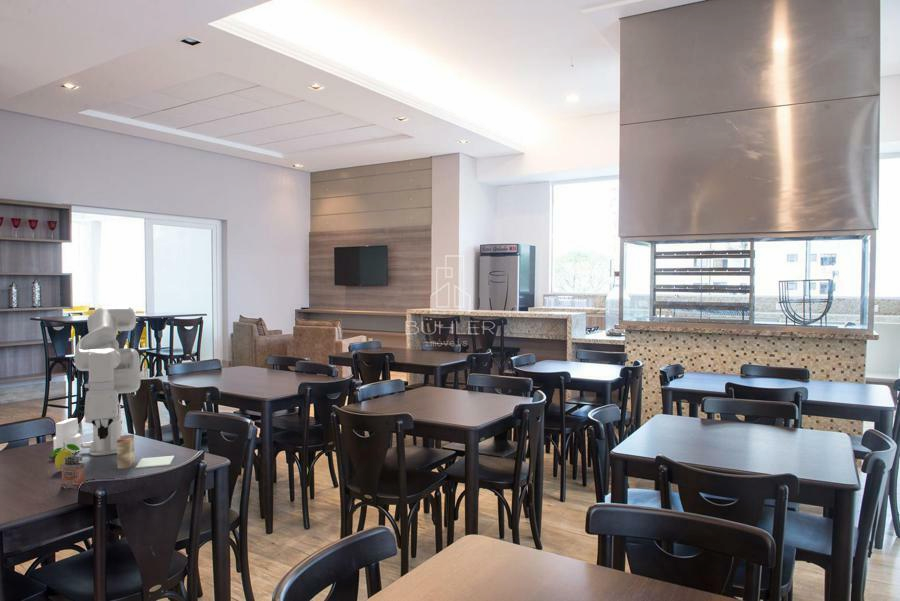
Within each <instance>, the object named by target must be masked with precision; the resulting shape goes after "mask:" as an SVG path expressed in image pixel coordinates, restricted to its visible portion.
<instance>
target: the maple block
mask: <svg viewBox="0 0 900 601" xmlns="http://www.w3.org/2000/svg"><path fill="white" fill-rule="evenodd" d="M116 458H117V459H116V461H117V462H116V463H117V469H118V468H121V469H129V468H131V467H132V466H133V465H134V464H135V461H136V460H135V435H134V434H125V435H123V434H122V435H121V437H120V438H119V439H118V440H117V453H116ZM133 463H134V464H133Z"/></svg>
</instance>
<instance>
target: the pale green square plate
mask: <svg viewBox="0 0 900 601" xmlns="http://www.w3.org/2000/svg"><path fill="white" fill-rule="evenodd" d="M174 458H175V455H169V456H168V455H166V456H156V457H155V456H154V457H153V456H152V457H143V458H142V457H141V459H140V460H139V461H138V463H137V465H136V466H135V469H146V468H148V469H149V468H157V467H167V466H168V467H169V466H171V465H172V462H173V461H174Z"/></svg>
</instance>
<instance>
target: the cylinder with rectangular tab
mask: <svg viewBox="0 0 900 601" xmlns="http://www.w3.org/2000/svg"><path fill="white" fill-rule="evenodd" d="M78 422H79V420H78V417H73V418H68V419H65V420H62V421H60V422H57V423H55V436H53V439H52V440H53V441H52V442H53V451H54V450H55V449H57V448H62V447H63V448H62V449H64V446H65V449H67V450H70V449H68V448H67V446H66V445H68V444H74V445H76V446H78V448H79V449H80V450H77V451H75V450H70V451H71V452H72V453H73V454H76V453H75V452H77V453H79V452H81V451H82V448H81V443H82V434H81V433H79V424H78ZM63 442H64V444H65V445H64V444H63ZM62 449H61V450H62ZM61 450H60V451H61ZM78 451H79V452H78Z"/></svg>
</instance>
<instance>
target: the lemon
mask: <svg viewBox="0 0 900 601" xmlns="http://www.w3.org/2000/svg"><path fill="white" fill-rule="evenodd" d="M63 444H64V442H63ZM64 445H65V444H64ZM66 446H67V448H68V449H70V450H75V451H77V450H80V449H79V448H78V446H76V445H74V444H68V445H66ZM62 448H63V447H62ZM62 448H57V449H55V450H54V449H53V451H52V453H51V455H50V458H53V457H55V459H54V464H55V467H56V468H57V469H59V470H62V467H61V463H65V458H64V457H66V456H72V455H74V453H73V454H72V452H71V451H70V450H67V449H65V446H64V449H62ZM61 449H62V450H61ZM60 450H61V451H60ZM56 454H57V455H56Z"/></svg>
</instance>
